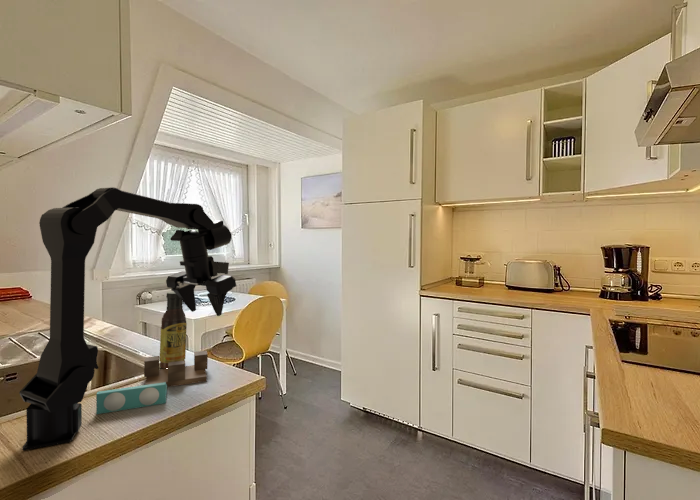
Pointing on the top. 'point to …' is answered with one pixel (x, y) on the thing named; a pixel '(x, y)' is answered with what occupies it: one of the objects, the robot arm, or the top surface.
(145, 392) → the glasses
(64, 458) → the top surface
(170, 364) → the stand
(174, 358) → the sauce bottle
